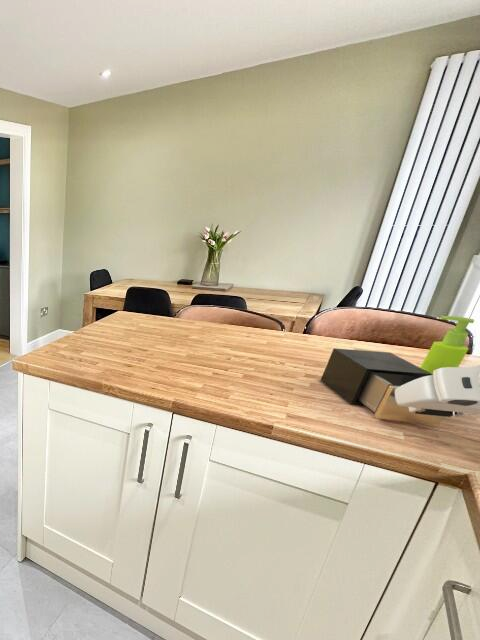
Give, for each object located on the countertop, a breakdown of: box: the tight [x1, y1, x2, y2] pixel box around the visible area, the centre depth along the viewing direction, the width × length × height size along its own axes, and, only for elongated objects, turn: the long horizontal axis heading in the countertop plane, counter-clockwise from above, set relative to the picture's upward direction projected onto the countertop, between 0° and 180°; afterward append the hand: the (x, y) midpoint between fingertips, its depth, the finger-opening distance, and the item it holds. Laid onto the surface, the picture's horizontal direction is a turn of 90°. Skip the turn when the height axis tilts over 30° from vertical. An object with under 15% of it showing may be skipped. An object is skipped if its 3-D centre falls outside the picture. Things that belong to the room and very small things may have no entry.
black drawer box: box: [320, 347, 433, 407], centre depth 101 cm, size 15×13×10 cm
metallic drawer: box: [357, 372, 453, 426], centre depth 91 cm, size 18×11×8 cm, turn 165°
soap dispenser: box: [419, 315, 475, 374], centre depth 100 cm, size 6×7×20 cm
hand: (432, 410), depth 83 cm, fingers closed on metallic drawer, 5 cm apart
